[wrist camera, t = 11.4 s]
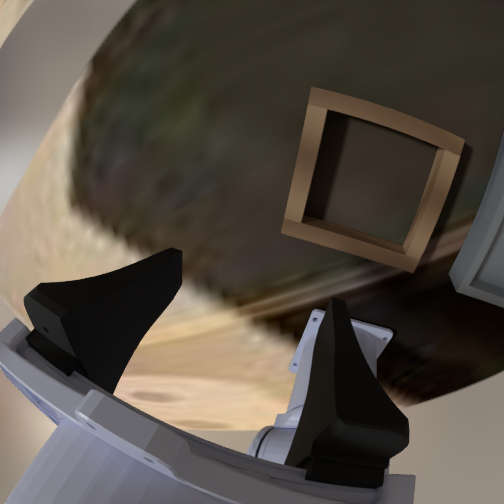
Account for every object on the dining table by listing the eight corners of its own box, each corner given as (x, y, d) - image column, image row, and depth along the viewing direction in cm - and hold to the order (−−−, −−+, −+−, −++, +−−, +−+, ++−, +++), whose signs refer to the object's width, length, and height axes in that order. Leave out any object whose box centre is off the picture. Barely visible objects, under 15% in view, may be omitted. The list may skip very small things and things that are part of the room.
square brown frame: (409, 262, 20) (413, 273, 19) (284, 224, 22) (280, 233, 21) (457, 136, 15) (464, 139, 13) (313, 88, 16) (311, 86, 15)
